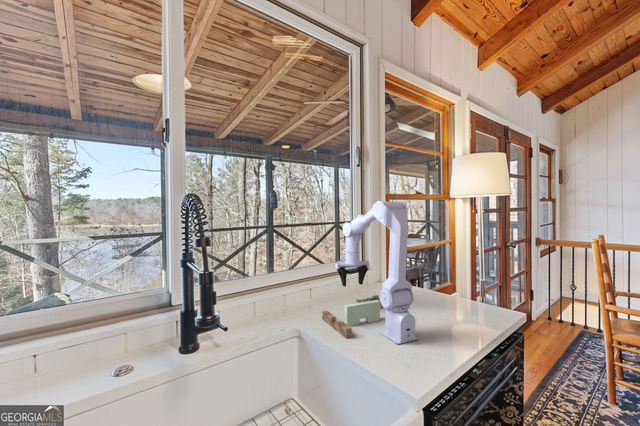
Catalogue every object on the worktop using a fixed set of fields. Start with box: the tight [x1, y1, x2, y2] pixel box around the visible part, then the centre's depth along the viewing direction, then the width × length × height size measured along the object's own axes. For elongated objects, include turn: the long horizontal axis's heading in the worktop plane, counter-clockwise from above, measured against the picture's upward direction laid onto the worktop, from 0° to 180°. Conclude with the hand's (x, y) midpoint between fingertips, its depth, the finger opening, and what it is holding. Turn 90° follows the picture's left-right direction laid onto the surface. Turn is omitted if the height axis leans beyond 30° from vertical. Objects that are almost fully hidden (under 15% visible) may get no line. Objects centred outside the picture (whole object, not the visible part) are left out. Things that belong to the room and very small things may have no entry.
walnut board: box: [321, 310, 353, 339], centre depth 102 cm, size 18×2×3 cm, turn 25°
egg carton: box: [355, 294, 384, 310], centre depth 124 cm, size 11×8×4 cm
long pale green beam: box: [343, 300, 381, 327], centre depth 107 cm, size 14×2×7 cm, turn 115°
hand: (352, 284), depth 121 cm, fingers open, 7 cm apart
